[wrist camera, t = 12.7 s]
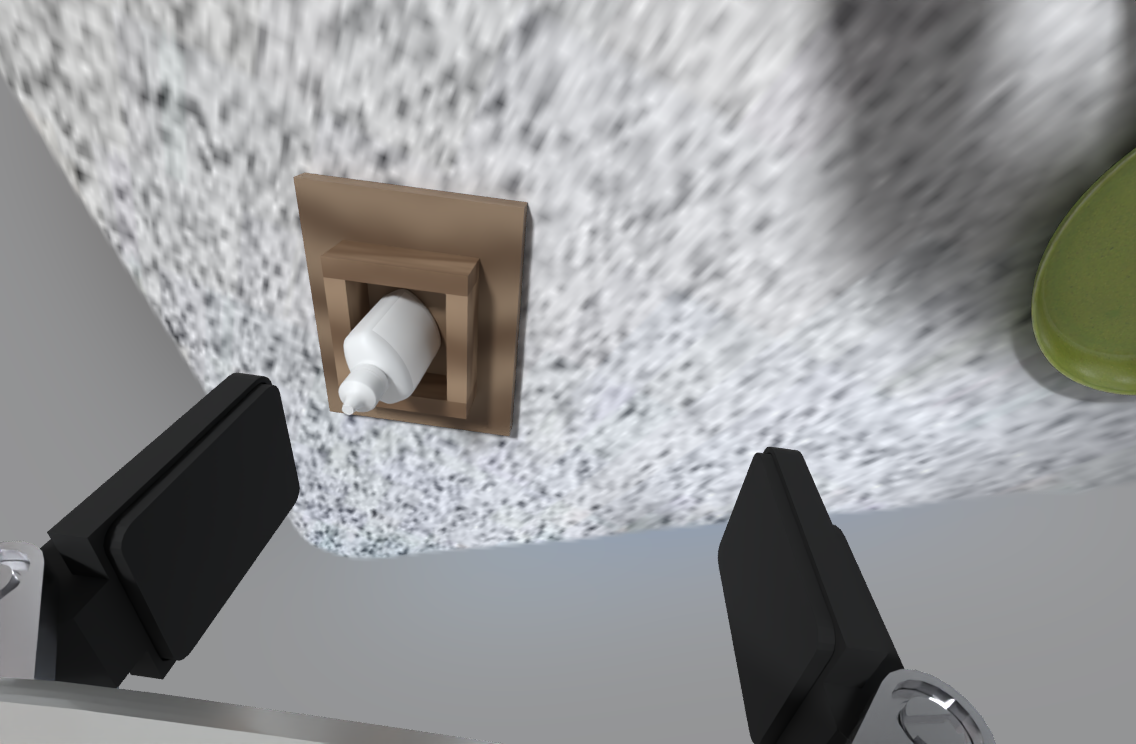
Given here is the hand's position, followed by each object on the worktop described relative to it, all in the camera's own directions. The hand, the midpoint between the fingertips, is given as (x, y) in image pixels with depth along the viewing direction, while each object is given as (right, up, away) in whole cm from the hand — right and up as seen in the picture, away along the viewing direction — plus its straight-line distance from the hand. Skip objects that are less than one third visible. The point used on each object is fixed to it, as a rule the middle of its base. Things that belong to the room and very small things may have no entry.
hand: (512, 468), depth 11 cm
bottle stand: (-11, +7, +33) cm, 35 cm away
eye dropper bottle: (-11, +6, +32) cm, 34 cm away
